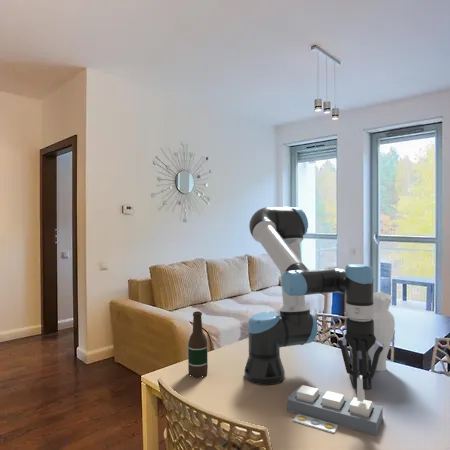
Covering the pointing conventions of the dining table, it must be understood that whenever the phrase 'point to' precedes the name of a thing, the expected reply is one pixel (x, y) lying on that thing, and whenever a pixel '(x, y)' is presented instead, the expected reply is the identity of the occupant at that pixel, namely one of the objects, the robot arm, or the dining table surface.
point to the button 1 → (307, 393)
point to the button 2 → (333, 400)
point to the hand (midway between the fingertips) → (361, 399)
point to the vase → (382, 327)
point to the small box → (360, 367)
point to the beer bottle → (197, 348)
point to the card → (316, 423)
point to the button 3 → (361, 407)
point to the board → (337, 413)
